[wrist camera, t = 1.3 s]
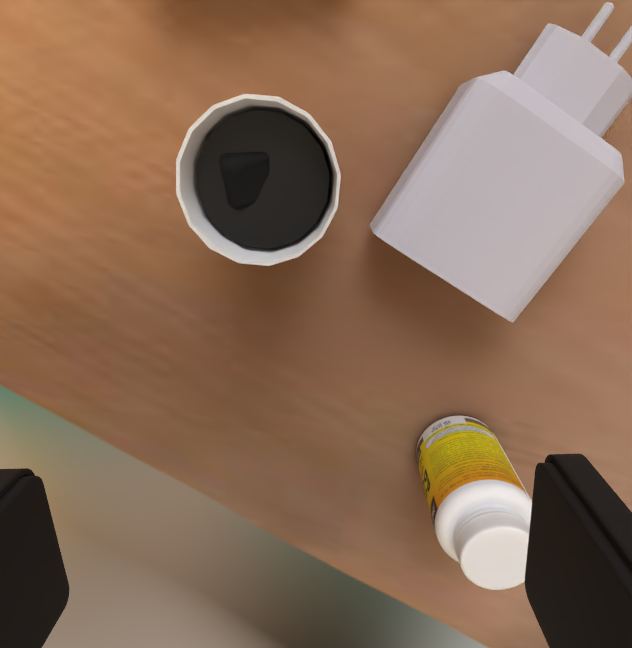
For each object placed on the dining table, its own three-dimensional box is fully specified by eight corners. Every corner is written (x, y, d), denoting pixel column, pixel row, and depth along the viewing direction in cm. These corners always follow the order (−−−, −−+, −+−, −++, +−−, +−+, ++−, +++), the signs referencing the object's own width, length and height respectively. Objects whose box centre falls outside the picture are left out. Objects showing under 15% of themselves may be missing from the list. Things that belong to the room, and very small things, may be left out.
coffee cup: (234, 236, 31) (191, 274, 22) (215, 119, 29) (159, 104, 20) (344, 224, 31) (348, 257, 21) (333, 105, 29) (332, 82, 19)
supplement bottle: (400, 432, 35) (426, 538, 26) (477, 398, 34) (534, 496, 25) (434, 494, 37) (469, 617, 27) (508, 464, 36) (573, 580, 26)
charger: (665, 77, 28) (491, 303, 32) (530, -27, 26) (367, 223, 31) (729, 62, 23) (517, 328, 28) (570, -63, 22) (373, 236, 26)
